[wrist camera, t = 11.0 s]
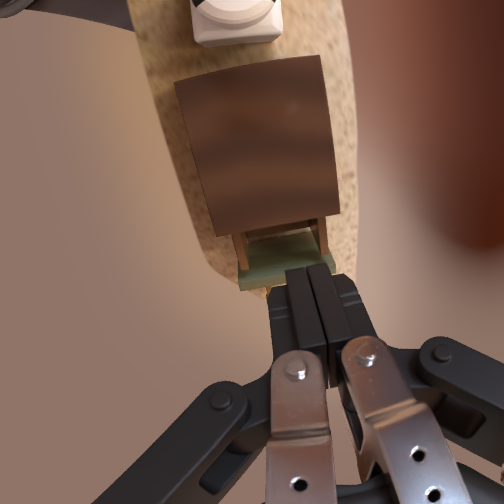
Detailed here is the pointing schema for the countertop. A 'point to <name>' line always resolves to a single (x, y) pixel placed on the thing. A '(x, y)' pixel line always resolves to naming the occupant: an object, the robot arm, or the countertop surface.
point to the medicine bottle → (235, 21)
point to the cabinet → (262, 143)
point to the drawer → (280, 253)
